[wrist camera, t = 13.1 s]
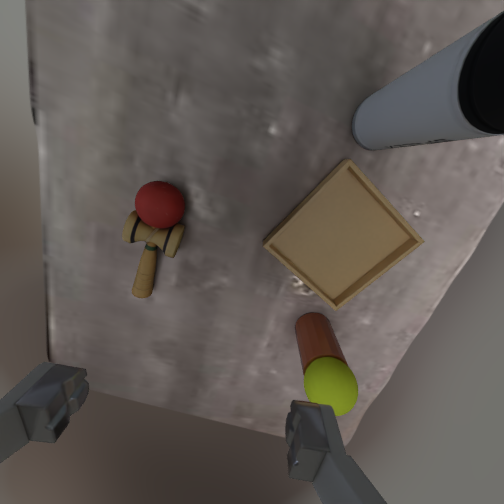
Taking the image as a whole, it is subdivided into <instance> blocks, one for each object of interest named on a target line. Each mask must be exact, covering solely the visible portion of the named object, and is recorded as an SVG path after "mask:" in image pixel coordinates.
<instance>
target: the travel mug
mask: <svg viewBox="0 0 504 504" xmlns="http://www.w3.org/2000/svg"><path fill="white" fill-rule="evenodd" d="M352 131H353V136H354V138H355V140H356V142H357V143H358V144H359V145H360V146H361V147H363V148H365V149H368V150H382V149H391V148H399V147H407V146H415V145H424V144H432V143H440V142H448V141H457V140H465V139H473V138H481V137H490V136H497V135H504V11H503V12H501V13H499V14H498V15H496V16H495V17H494V18H492V19H490V20H488V21H487V22H485V23H484V24H482V25H481V26H479V27H477V28H476V29H474V30H473V31H471V32H470V33H468V34H466V35H465V36H463V37H462V38H460V39H459V40H457V41H455V42H454V43H452V44H451V45H449V46H448V47H446V48H444V49H443V50H441V51H440V52H438V53H437V54H435V55H433V56H432V57H430V58H429V59H427V60H425V61H424V62H422V63H421V64H419V65H418V66H416V67H414V68H413V69H411V70H410V71H408V72H407V73H405V74H403V75H402V76H400V77H399V78H397V79H396V80H394V81H392V82H391V83H389V84H388V85H386V86H385V87H383V88H381V89H380V90H378V91H377V92H375V93H374V94H372V95H370V96H369V97H367V98H366V99H365V100H364V101H363V102H362V103H361V104H360V105H359V107H358V108H357V110H356V112H355V114H354V117H353V121H352Z"/></svg>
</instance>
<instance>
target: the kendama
mask: <svg viewBox="0 0 504 504" xmlns="http://www.w3.org/2000/svg"><path fill="white" fill-rule="evenodd" d="M135 208H136V210H135V211H133V212H131V214H130V215H129V216H128V218H127V220H126V223H125V226H124V229H123V234H122V237H123V240H124V241H126V242H129V243H134V242H137V241H145V242H147V244H146V246H145V249H144V251H143V254H142V257H141V260H140V263H139V266H138V270H137V274H136V278H135V281H134V284H133V288H132V294H133V295H134V296H135V297H138V298H146V297H149V296H150V295H151V294H152V290H153V280H154V274H155V268H156V259H157V245H158V246H159V247H160V248H161V249H162V251H163V252H164V254H165V256H168V257H172V258H174V257H175V255H176V252H177V250H178V247H179V244H180V242H181V239H182V236H183V233H184V228H185V227H184V226H183V225H181V224H178V222H179V221H180V219H181V218H182V216H183V214H184V210H185V202H184V198H183V196H182V194H181V192H180V191H179V190H178V189H177V188H176V187H174V186H173V185H171V184H169V183H168V182H162V181H153V182H149V183H147V184H145V185H144V186H143V187H141V188H140V190H139V191H138V193H137V195H136V198H135Z"/></svg>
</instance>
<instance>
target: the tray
mask: <svg viewBox="0 0 504 504" xmlns="http://www.w3.org/2000/svg"><path fill="white" fill-rule="evenodd" d="M422 243H424V240H423V239H422V238H421V237H420V236H419V235H418V234H417V233H416V231H415V230H414V229H413V228H412V227H411V226H410V225H409V224H408V223H407V221H406V220H405V219H404V218H403V217H402V216H401V215H400V214H399V212H398V211H397V210H396V209H395V208H394V207H393V206H392V205H391V204H390V202H389V201H388V200H387V199H386V198H385V197H384V196H383V195H382V194H381V192H380V191H379V190H378V189H377V188H376V187H375V186H374V185H373V184H372V182H371V181H370V180H369V179H368V178H367V177H366V176H365V175H364V174H363V172H362V171H361V170H360V169H359V168H358V167H357V166H356V165H355V164H354V162H353V161H352V160H351V159H344V160H343V161H342V162H341V163H340V164H339V165H338V166H337V167H336V168H335V169H334V170H333V171H332V172H331V173H330V174H329V175H328V176H327V177H326V178H325V179H324V180H323V181H322V182H321V183H320V184H319V185H318V186H317V187H316V188H315V189H314V190H313V191H312V192H311V193H310V194H309V195H308V196H307V197H306V198H305V199H304V200H303V201H302V202H301V203H300V204H299V205H298V206H297V207H296V208H295V209H294V210H293V211H292V212H291V213H290V214H289V215H288V216H287V217H286V218H285V219H284V220H283V222H282V223H281V224H280V225H279V226H278V227H277V228H276V229H275V230H274V231H273V232H272V233H271V234H270V235H269V236H268V237H267V238H266V239H265V240H264V241H263V247H264V248H265V249H266V250H268V251H269V252H270V253H271V254H272V255H273V256H274V257H275V258H277V259H278V260H279V261H280V262H281V263H282V264H283V265H284V266H286V267H287V268H288V269H289V270H290V271H291V272H292V273H294V274H295V275H296V276H297V277H298V278H299V279H300V280H301V281H303V282H304V283H305V284H306V285H307V286H308V287H309V288H310V289H312V290H313V291H314V292H315V293H316V294H317V295H318V296H319V297H321V298H322V299H323V300H324V301H325V302H326V303H327V304H328V305H330V306H331V307H332V308H333V309H334V310H335V311H337V310H338V309H339V308H341V307H342V306H343V305H344V304H346V303H347V302H348V301H350V300H351V299H352V298H353V297H355V296H356V295H357V294H358V293H360V292H361V291H362V290H364V289H365V288H366V287H367V286H369V285H370V284H371V283H373V282H374V281H375V280H376V279H378V278H379V277H380V276H381V275H383V274H384V273H385V272H387V271H388V270H389V269H390V268H392V267H393V266H394V265H396V264H397V263H398V262H399V261H401V260H402V259H403V258H405V257H406V256H407V255H408V254H410V253H411V252H412V251H413V250H415V249H416V248H417V247H419V246H420V244H422Z"/></svg>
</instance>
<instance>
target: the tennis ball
mask: <svg viewBox="0 0 504 504" xmlns="http://www.w3.org/2000/svg"><path fill="white" fill-rule="evenodd" d="M304 388H305V392H306V395H307V397H308V399H309V401H310V402H313V403H318V404H324V405H330V406H332V408H333V410H334V413H335V416H340V415H343V414H346V413H348V412H349V411H350V410H351V409H352V408H353V407H354V405H355V403H356V401H357V397H358V385H357V381H356V378H355V376H354V374H353V372H352V371H351V370H350V368H349V367H348V366H347V365H346V364H345V363H343V362H342V361H340V360H338V359H336V358H333V357H321V358H318V359H316V360H314V361H313V362H312V363H311V364H310V365H309V366H308V368H307V370H306V372H305V376H304Z"/></svg>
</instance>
